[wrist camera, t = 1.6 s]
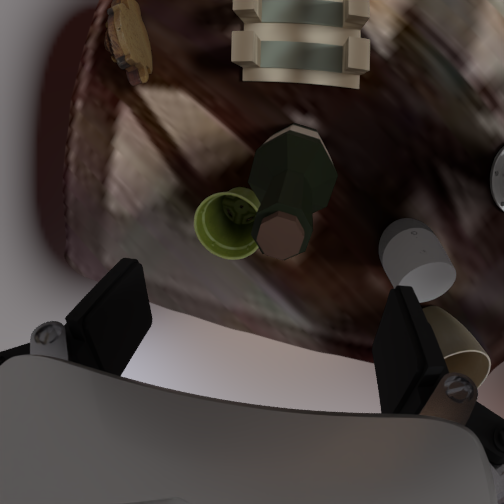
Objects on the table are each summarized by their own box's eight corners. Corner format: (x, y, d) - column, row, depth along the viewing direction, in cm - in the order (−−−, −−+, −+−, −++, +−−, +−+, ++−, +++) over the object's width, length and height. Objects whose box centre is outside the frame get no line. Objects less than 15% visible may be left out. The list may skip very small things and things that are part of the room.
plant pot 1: (234, 243, 51) (221, 270, 43) (200, 196, 48) (180, 216, 40) (283, 216, 47) (278, 240, 40) (249, 164, 45) (236, 178, 37)
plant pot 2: (376, 329, 54) (388, 396, 40) (432, 275, 47) (464, 335, 33) (421, 358, 56) (437, 418, 42) (473, 312, 49) (503, 369, 35)
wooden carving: (119, 10, 35) (83, -2, 26) (142, -4, 34) (108, -19, 25) (145, 90, 41) (109, 91, 33) (170, 78, 40) (137, 75, 31)
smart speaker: (377, 269, 49) (395, 324, 36) (371, 218, 45) (393, 262, 33) (429, 260, 46) (459, 310, 34) (427, 208, 42) (464, 248, 30)
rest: (357, -31, 27) (365, -52, 21) (358, 89, 37) (368, 86, 30) (246, -36, 30) (235, -58, 23) (243, 81, 39) (230, 77, 32)
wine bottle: (301, 190, 45) (289, 326, 19) (257, 155, 44) (175, 245, 17) (338, 148, 41) (392, 232, 15) (292, 111, 40) (265, 123, 14)
